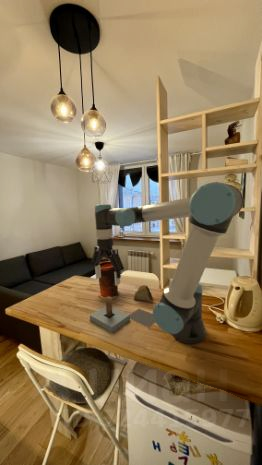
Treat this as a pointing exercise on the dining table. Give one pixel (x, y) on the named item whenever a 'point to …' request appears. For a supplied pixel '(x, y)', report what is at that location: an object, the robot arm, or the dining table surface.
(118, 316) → the block
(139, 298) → the rock
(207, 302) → the dining table surface
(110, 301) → the peg
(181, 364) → the dining table surface
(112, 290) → the vessel
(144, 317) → the mat
